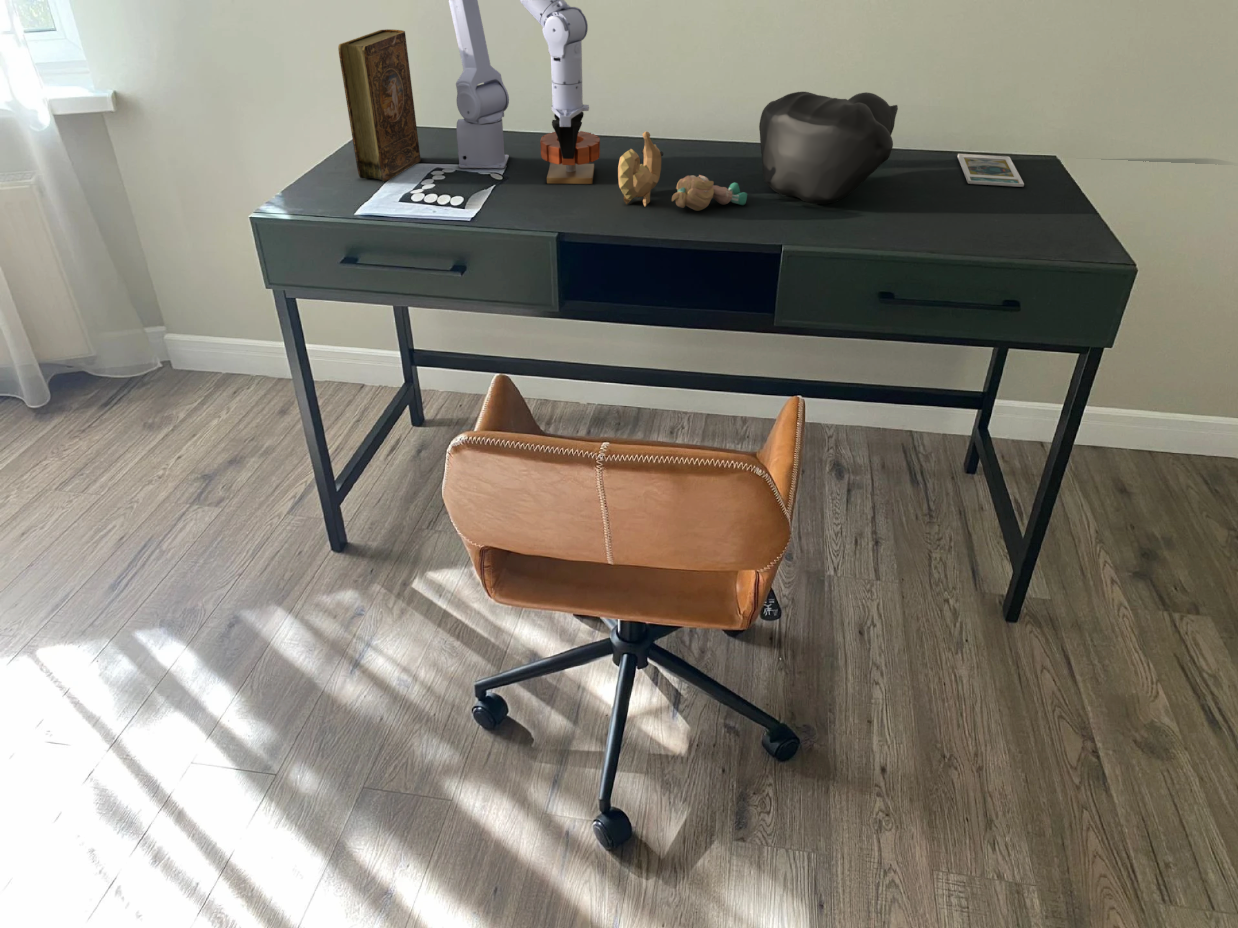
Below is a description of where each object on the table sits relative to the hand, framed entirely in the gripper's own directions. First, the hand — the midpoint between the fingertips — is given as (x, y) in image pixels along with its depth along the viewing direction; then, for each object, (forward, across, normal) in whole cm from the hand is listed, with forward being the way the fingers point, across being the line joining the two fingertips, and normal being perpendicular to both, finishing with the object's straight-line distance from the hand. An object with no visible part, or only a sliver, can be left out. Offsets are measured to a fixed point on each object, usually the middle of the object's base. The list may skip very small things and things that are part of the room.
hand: (569, 155), depth 176 cm
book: (+6, +7, +37) cm, 38 cm away
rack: (+6, +4, 0) cm, 7 cm away
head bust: (+6, 0, -52) cm, 52 cm away
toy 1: (+6, -10, -14) cm, 18 cm away
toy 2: (+6, -13, -27) cm, 30 cm away
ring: (+1, +4, 0) cm, 4 cm away
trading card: (+6, +10, -86) cm, 87 cm away
